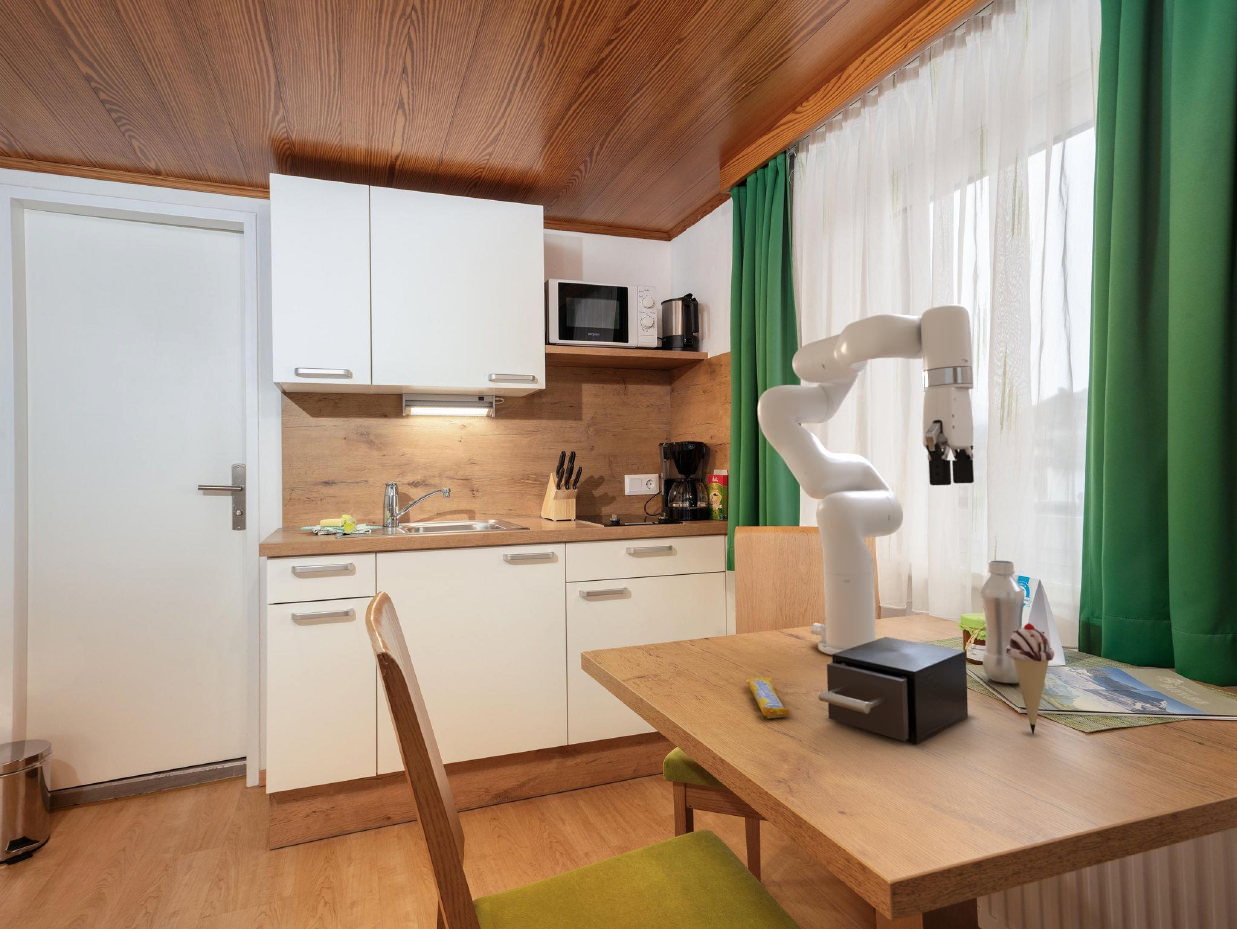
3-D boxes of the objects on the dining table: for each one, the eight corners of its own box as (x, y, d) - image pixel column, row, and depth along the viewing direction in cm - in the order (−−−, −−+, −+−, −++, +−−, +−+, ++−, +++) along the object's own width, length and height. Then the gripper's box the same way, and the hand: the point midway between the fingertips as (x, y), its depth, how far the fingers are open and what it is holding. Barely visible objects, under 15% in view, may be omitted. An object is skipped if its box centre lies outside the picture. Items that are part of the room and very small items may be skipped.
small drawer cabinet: (917, 744, 92) (914, 671, 92) (833, 720, 102) (831, 654, 102) (968, 717, 101) (966, 650, 101) (887, 697, 111) (885, 636, 111)
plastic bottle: (1016, 675, 120) (1011, 558, 120) (1035, 688, 113) (1031, 564, 113) (976, 675, 121) (972, 559, 121) (993, 688, 114) (989, 565, 114)
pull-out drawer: (881, 752, 88) (879, 690, 88) (805, 728, 97) (804, 671, 97) (953, 715, 100) (951, 660, 100) (879, 697, 109) (877, 646, 109)
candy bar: (791, 720, 102) (791, 708, 102) (762, 721, 102) (762, 708, 102) (770, 685, 119) (770, 674, 119) (746, 685, 119) (745, 674, 119)
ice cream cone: (998, 730, 96) (995, 621, 96) (1029, 724, 98) (1025, 616, 98) (1036, 745, 91) (1032, 629, 91) (1068, 738, 93) (1064, 624, 93)
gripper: (945, 387, 125) (949, 483, 125) (902, 380, 113) (907, 486, 113) (990, 382, 120) (994, 482, 120) (950, 374, 108) (955, 485, 108)
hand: (952, 484), depth 116 cm, fingers open, 9 cm apart
